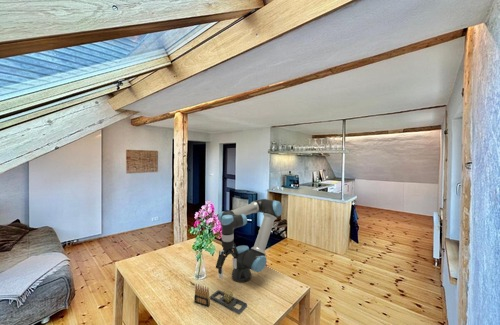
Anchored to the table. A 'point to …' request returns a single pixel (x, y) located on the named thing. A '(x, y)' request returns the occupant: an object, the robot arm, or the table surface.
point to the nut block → (228, 296)
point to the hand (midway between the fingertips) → (228, 272)
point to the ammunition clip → (202, 296)
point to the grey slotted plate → (230, 305)
